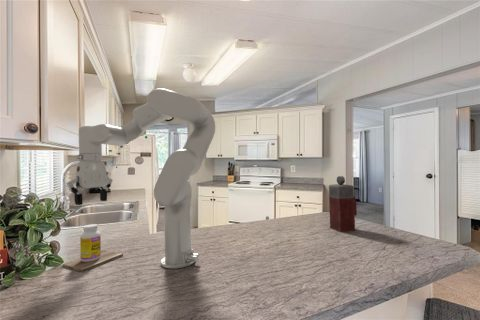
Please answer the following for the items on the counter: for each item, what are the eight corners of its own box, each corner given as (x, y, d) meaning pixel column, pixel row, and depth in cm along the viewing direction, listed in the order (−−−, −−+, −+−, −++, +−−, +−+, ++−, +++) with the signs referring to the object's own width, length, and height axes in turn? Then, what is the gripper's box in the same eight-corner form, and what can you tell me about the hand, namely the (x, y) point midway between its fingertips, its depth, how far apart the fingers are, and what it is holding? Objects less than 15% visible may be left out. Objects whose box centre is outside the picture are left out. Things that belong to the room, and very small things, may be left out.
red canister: (359, 230, 126) (357, 176, 127) (340, 232, 124) (338, 176, 124) (348, 226, 135) (346, 175, 135) (329, 227, 132) (328, 176, 133)
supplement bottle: (91, 263, 90) (90, 228, 90) (76, 262, 91) (75, 227, 91) (104, 256, 96) (104, 223, 96) (90, 255, 98) (90, 223, 98)
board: (123, 255, 98) (123, 253, 98) (82, 272, 84) (82, 269, 84) (103, 251, 104) (103, 249, 104) (62, 266, 89) (62, 264, 89)
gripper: (73, 157, 85) (74, 207, 85) (117, 158, 101) (118, 199, 101) (60, 158, 88) (61, 206, 88) (105, 158, 104) (106, 199, 104)
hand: (91, 202), depth 94 cm, fingers open, 9 cm apart
